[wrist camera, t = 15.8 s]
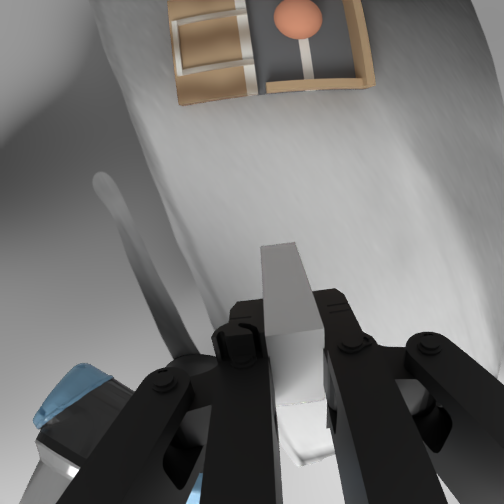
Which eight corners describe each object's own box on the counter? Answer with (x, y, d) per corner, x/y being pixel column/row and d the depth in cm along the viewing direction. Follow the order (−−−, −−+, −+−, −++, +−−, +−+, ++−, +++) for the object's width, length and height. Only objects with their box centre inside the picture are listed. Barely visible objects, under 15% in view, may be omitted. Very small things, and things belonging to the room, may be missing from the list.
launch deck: (258, 94, 35) (258, 91, 32) (183, 106, 35) (177, 104, 32) (243, -5, 30) (242, -15, 27) (172, 7, 30) (165, -1, 27)
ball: (287, 38, 27) (262, 34, 31) (328, 45, 29) (301, 39, 33) (293, -8, 24) (267, -7, 27) (335, 3, 26) (307, 1, 29)
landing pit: (363, 89, 34) (375, 85, 30) (258, 94, 35) (258, 90, 31) (346, -8, 29) (355, -21, 25) (243, -5, 30) (242, -20, 25)
